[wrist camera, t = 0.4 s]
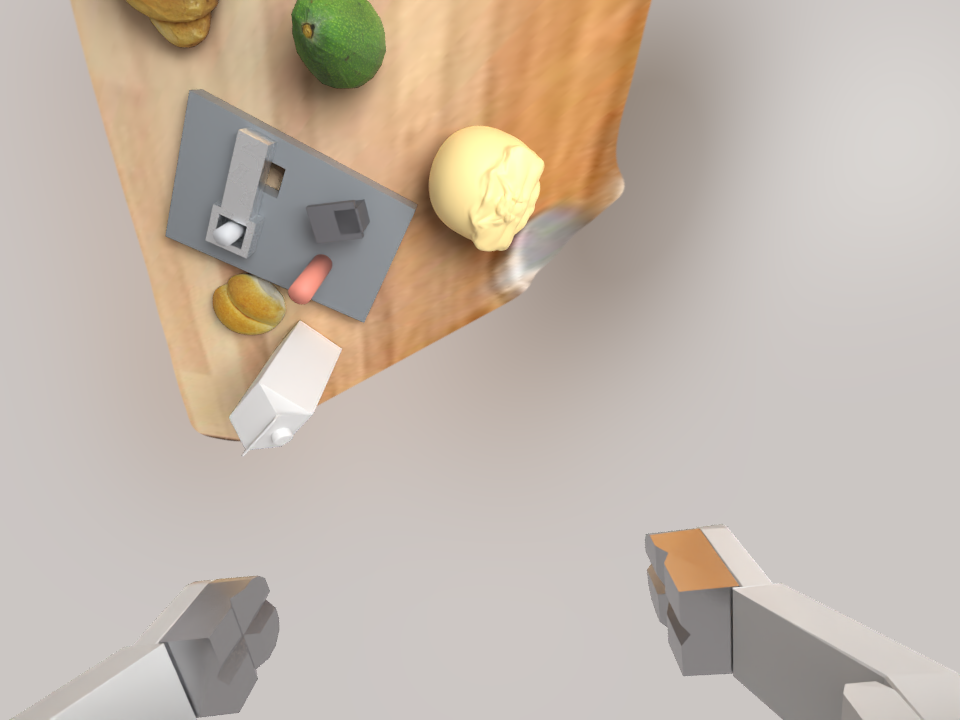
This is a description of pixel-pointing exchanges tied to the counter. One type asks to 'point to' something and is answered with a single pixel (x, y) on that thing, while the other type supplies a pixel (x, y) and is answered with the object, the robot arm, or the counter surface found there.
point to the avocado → (339, 40)
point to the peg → (310, 279)
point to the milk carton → (285, 389)
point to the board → (288, 210)
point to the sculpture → (485, 185)
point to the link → (244, 190)
